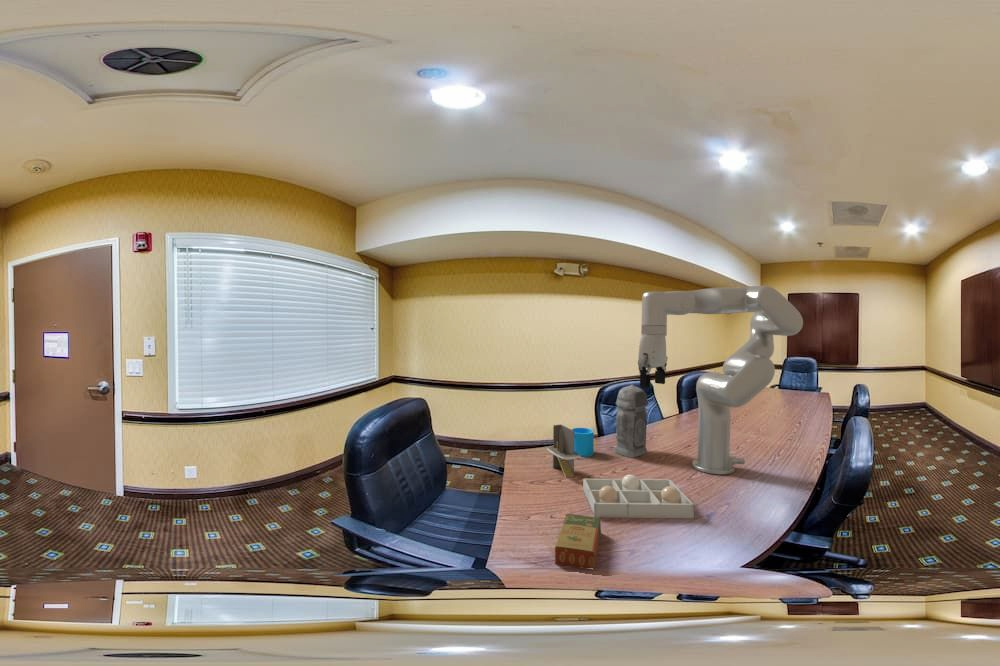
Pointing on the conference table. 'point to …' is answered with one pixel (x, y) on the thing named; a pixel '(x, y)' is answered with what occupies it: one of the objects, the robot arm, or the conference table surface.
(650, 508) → the egg tray
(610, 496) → the egg in carton
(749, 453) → the conference table surface
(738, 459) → the robot arm
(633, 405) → the figurine
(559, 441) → the toy chair
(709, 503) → the conference table surface
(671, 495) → the egg in carton
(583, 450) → the mug
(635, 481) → the loose egg
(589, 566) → the carton
